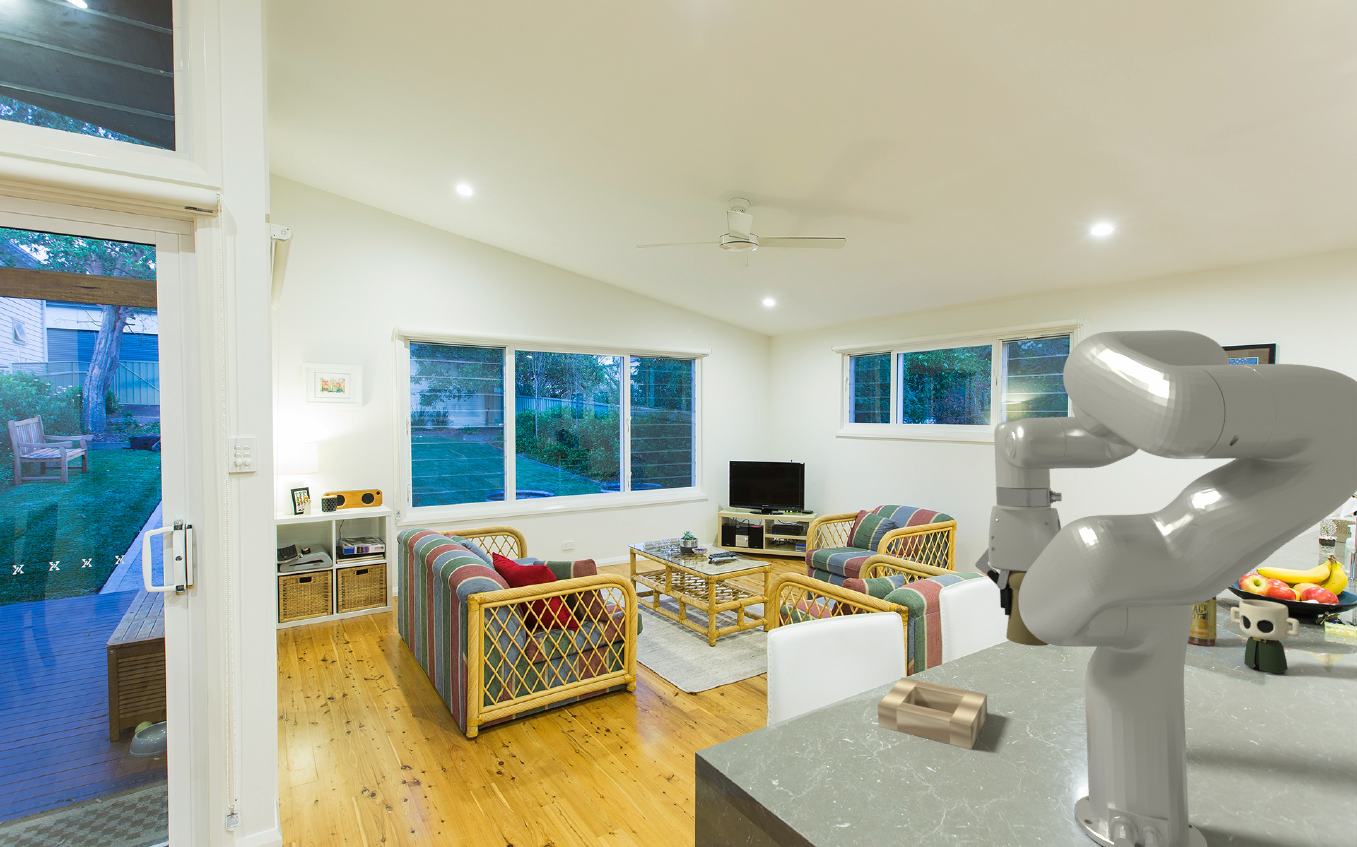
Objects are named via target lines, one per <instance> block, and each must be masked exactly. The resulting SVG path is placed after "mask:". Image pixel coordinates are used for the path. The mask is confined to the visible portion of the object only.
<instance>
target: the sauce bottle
mask: <svg viewBox="0 0 1357 847" xmlns="http://www.w3.org/2000/svg"><path fill="white" fill-rule="evenodd" d="M1217 600H1218V599H1217V596H1215V597H1213V598H1212V599H1210V600H1208V601H1205V602H1202V603H1198V604H1193V605H1192V625H1191V631H1190V635H1189V640H1188V644H1193V645H1197V644H1198V646H1204V647H1205V646H1206V647H1207V646H1215V644H1216V639H1217V638H1218V637H1217V609H1218V608H1217V606H1218V605H1217Z"/></svg>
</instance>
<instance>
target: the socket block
mask: <svg viewBox="0 0 1357 847" xmlns="http://www.w3.org/2000/svg"><path fill="white" fill-rule="evenodd" d="M877 717H878V718H877V720H878V721H877V722H878V727H880V728H884V729H887V730H893V731H897V732H900V733H904V734H909V735H911V736H917V737H921V738H924V739H929V740H933V741H937V742H940V743H945V744H948V745H951V746H957V747H960V748H964V749H968V750H972V749H973V747H974V745H975V742H976V741H977V738H978V736H979V735H980V732H981V730H982V727H983V726H984V723H985V722H986V720H987V717H988V694H987V693H982V692H977V691H972V690H966V689H962V688H956V687H952V686H946V685H942V684H936V683H933V682H928V681H922V680H917V679H913V678H907V677H901V678H900V679H899V680H898V681H897V682H896V683H895V685H894V686H893V687H892V688H891V689H890V690H889V691H888V693H887V694H886V695H885V696H884V697H883V698H882V699H881V701H879V703H878V704H877Z"/></svg>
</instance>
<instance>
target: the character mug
mask: <svg viewBox="0 0 1357 847" xmlns="http://www.w3.org/2000/svg"><path fill="white" fill-rule="evenodd" d="M1238 606H1239V607H1237V606H1231V608H1230V620H1231V622H1232V623H1234V624H1237V625H1239V628H1240V630H1241V632H1242V633H1243V634H1245V635H1246V636H1249V637H1248V638H1247V640H1246V645H1245V650H1244V651H1245V652H1244V660H1243V661H1244V662H1243V663H1244V664H1245V666H1247V667H1249V668H1251V669H1255V668H1256V669H1257V668H1259V671H1263V672H1269V673H1282V672H1283V673H1284V672H1286V671H1288V669H1289V668H1288V667H1289V666H1288V662H1287V657H1286V653H1285V648H1284V645H1283V644H1282V642H1281V641H1285V640H1287V639H1289V637H1290V636H1293V637H1299V636H1300V635H1301V634H1300V622H1299V620H1298V619H1296V618H1292V617H1289V608H1288V606H1287V605H1285V604H1282V603H1279V602H1275V601H1268V600H1260V599H1241V600H1239V603H1238ZM1237 613H1238V614H1239V616H1238V614H1237ZM1238 617H1239V618H1238ZM1290 624H1292V630H1291V629H1290Z"/></svg>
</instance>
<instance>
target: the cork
mask: <svg viewBox="0 0 1357 847" xmlns="http://www.w3.org/2000/svg"><path fill="white" fill-rule="evenodd" d="M1026 573H1027V572H1015V571H1010V573H1009V576H1008V580H1007V581H1008V584H1009V586H1010V587H1011V589H1012V591H1011V603H1010V615H1008V618H1007V619H1008V620H1007V628H1006V640H1008V641H1010V642H1013V643H1016V644H1020V645H1025V646H1030V647H1031V646H1034V647H1042V646H1043V647H1044V646H1048V645H1049V644H1048V643H1045V642H1043V641H1041V640H1040V639H1038V638H1037V637H1035V636H1034V635H1033V634H1032V633H1031V632H1030V631H1029V630H1028V629H1027V627H1026V626H1025V624H1024V622H1023V620H1022V618H1021V615H1020V611H1019V591H1020V587H1021V583H1022V581H1023V578H1024V576H1025V575H1026Z"/></svg>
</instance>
